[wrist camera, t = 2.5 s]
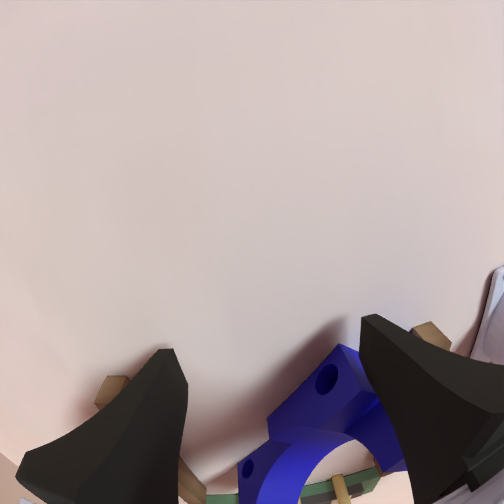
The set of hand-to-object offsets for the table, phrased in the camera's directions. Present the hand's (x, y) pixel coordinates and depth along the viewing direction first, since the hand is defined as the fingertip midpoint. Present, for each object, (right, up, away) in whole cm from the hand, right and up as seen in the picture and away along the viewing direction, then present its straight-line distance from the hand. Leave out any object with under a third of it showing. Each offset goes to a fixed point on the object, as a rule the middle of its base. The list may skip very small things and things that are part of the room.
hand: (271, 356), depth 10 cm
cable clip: (+2, -6, +4) cm, 8 cm away
